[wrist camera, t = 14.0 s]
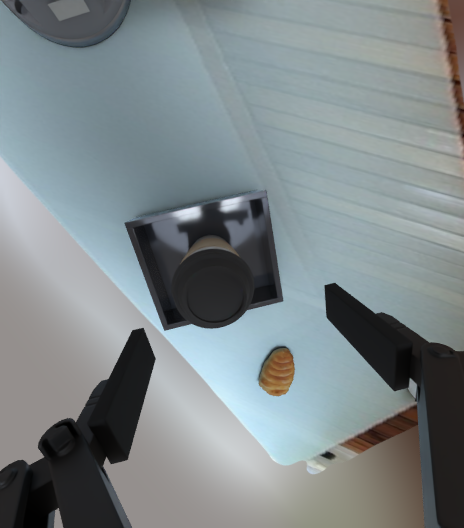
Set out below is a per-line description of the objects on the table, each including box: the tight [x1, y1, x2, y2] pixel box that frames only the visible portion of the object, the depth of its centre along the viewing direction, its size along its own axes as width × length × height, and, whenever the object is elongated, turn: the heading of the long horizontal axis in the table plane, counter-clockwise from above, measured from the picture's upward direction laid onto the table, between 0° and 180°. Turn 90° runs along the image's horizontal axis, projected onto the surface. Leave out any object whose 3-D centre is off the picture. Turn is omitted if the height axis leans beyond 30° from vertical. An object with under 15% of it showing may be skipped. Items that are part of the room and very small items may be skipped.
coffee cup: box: [171, 235, 254, 328], centre depth 30 cm, size 9×9×15 cm
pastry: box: [259, 348, 295, 396], centre depth 45 cm, size 9×7×4 cm
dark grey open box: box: [125, 190, 283, 331], centre depth 35 cm, size 17×19×6 cm
